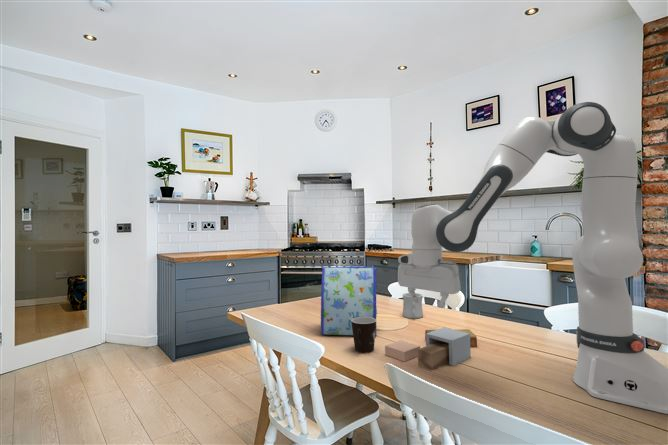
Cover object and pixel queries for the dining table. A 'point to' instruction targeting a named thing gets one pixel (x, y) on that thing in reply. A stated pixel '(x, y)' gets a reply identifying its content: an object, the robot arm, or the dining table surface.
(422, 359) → the block
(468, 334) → the grey tunnel block
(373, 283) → the lunch bag
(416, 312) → the mug
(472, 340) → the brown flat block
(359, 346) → the coffee mug
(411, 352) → the stand
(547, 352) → the dining table surface
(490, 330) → the dining table surface
